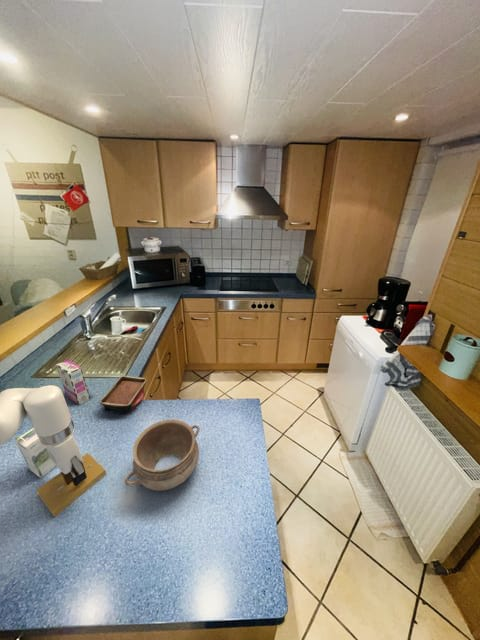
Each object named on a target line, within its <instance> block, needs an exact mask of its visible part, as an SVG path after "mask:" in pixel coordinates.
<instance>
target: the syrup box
mask: <svg viewBox="0 0 480 640" xmlns="http://www.w3.org/2000/svg"><path fill="white" fill-rule="evenodd" d="M14 441H15V443H16V446H17V447H18V450H19V451H20V454H21V455H22V457H23V459H24V461H25V463H26V466H27V467H28V469H29V471H31V473H33V474H34V475H36V476H37V477H39V478H43V477H44V475H46V474H48V473H49V472H50V471H51V470H53V469H54V468H55V467H57V466H56V465H55V463H54V462H53V461H52V460H51V458H50V456H49V454H48V451H47V448H46V446H43V445H42V444H41V442H40V440H39V438H38V436H37V434H36V431H35V429H34V427H32V428H31V429H29V430H28V431H26V432H25V433H23V434H21V435H20V436H18V437H17V438H15V439H14Z"/></svg>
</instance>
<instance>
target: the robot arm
mask: <svg viewBox="0 0 480 640" xmlns="http://www.w3.org/2000/svg"><path fill="white" fill-rule="evenodd" d="M27 417H28V419H29V420H30V423H31V425H32V428H34V429H35V431H36V434H37V436H38V438H39V440H40V442H41V444H42V445H43V446H46V448H47V451H48V454H49V456H50V458H51V460H52V461H53V462H54V463H55V465H56V466H55V467H57V468H58V469H59V470H60V473H61V472H62V473H64V474H68V473H69V472H70V473H71V475H72V476H71V479H72V481H73V484H74V485H75V486H77V485H78V484H80V483H81V482H82V481H83V480H85V479H86V478H87V476H86V473H85V471H84V468H83V467H82V465H81V463H82V462H83V454H82V452H81V449H80V447H79V444H78V441H77V439H76V437H75V435H74V432H75V430H76V427H75V423H74V421H73V418H72V415H71V412H70V410H69V407H68V404H67V401H66V398H65V396H64V392H63V391H62V389H61V388H60V387H59V386H57V385H53V384H52V385H51V384H48V385H44V386H40V387H33V388H31V387H14V388H13V387H12V388H6V389H3V390H2V391H1V392H0V446H4V445H6V444H7V443H8V442H10V441H11V440H12V439H13V438H14V437H15V436H16V434H17V432H18V431H19V429H20V427H21V425H22V424H23V422H24V420H25V419H27ZM73 468H75V469H76V471H75V472H73V470H72V469H73Z"/></svg>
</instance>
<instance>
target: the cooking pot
mask: <svg viewBox="0 0 480 640" xmlns="http://www.w3.org/2000/svg"><path fill="white" fill-rule="evenodd" d="M194 429H196V431H194ZM200 430H201V429H200V425H197V424H194V425H191V426H190V425H189V424H188V423H187V422H185V421H183V420H180V419H164V420H160V421H157V422H155V423H153V424H151V425H149V426H148V427H146V428H145V429H144V430H143V431H141V433H140V434H139V435H138V436H137V438H136V440H135V441H134V444H133V447H132V457H133V460H132V468H133V469H132V471H131V472H130V473H128V475H127V476H126V477H125V479H124V483H125V485H126V486H128V487H132V486H133V487H134V486H137V485H141V486H143V487H145V488H147V489H149V490H152V491H159V492H160V491H161V492H162V491H168V490H172V489H174V488H177V487H178V486H180V485H181V484H183V483H184V482H185V481H187V480H188V478H189V477H190V476H191V475H192V473H193V472H194V470H195V469H196V466H197V464H198V460H199V455H200V451H199V450H200V449H199V444H198V441H197V439H196V438H197V437H198V435H199V433H200ZM168 456H175V457H178V458H180V459H181V460H180V461H179V462H177V463H176V464H175V465H172V466H169V467H167V468H162V469H155V468H156V467H157V464H158V462H160V461H161V460H162V459H163V458H165V457H168ZM133 476H135V478H136V480H134V481H130V478H131V477H133Z"/></svg>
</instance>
